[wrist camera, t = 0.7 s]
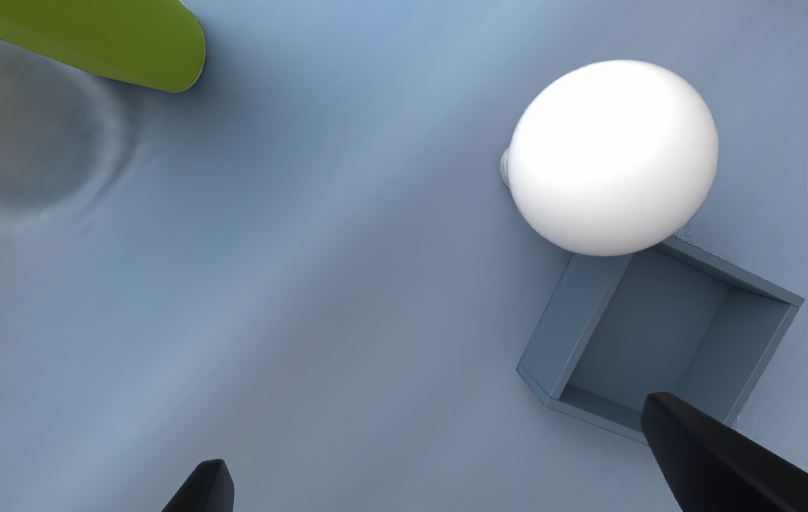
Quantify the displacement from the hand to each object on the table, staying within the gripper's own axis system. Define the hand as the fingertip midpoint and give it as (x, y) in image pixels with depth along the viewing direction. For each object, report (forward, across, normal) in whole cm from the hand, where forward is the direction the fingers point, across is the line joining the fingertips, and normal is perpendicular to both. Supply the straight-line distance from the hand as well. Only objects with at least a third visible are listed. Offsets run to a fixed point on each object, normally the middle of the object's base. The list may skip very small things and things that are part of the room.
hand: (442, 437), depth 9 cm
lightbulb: (+15, -7, 0) cm, 17 cm away
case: (+12, -13, +8) cm, 19 cm away
